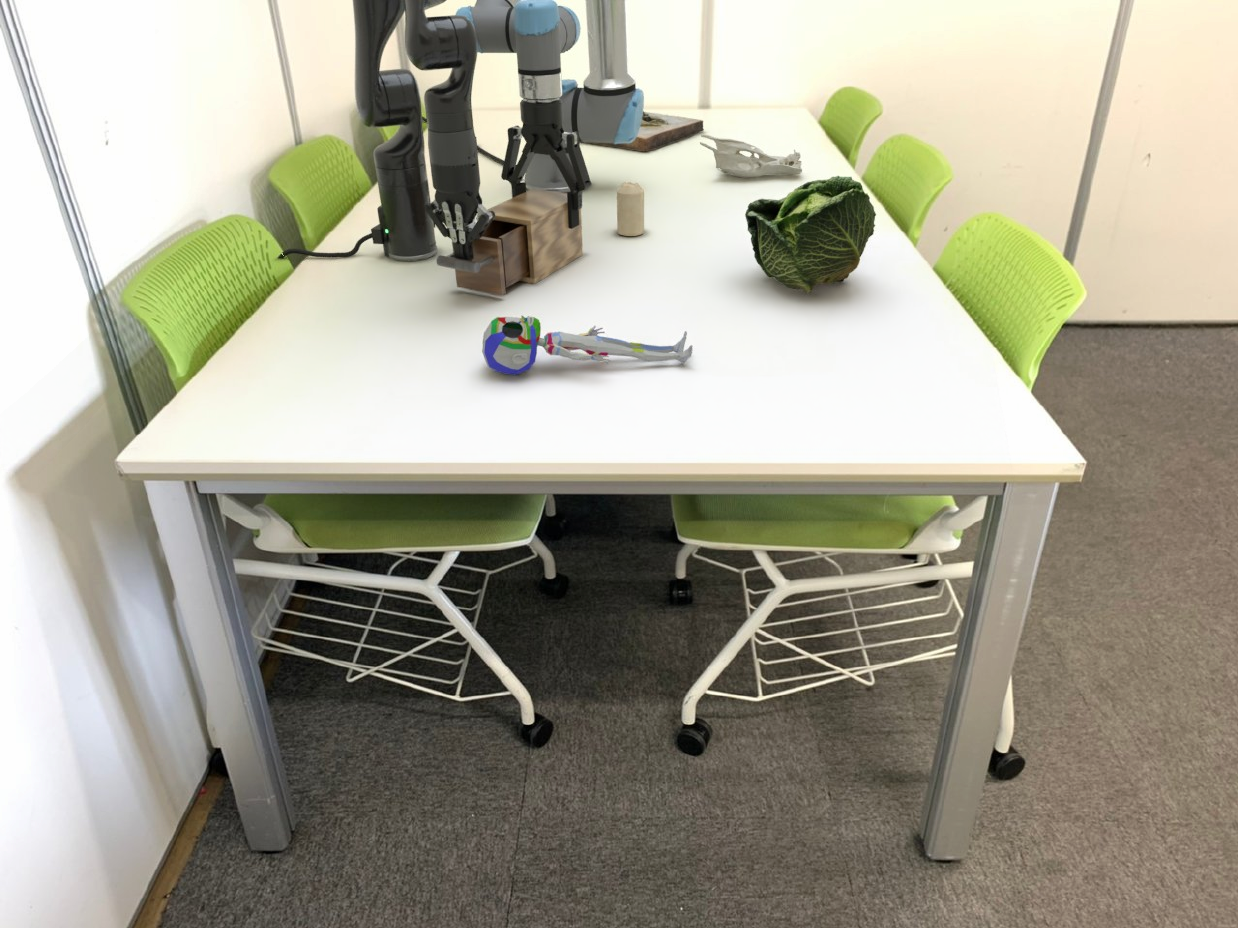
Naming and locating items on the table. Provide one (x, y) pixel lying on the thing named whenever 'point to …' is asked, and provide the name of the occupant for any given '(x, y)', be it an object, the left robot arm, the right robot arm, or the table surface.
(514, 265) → the drawer
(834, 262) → the vegetable
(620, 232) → the candle
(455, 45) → the left robot arm
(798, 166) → the anatomical model
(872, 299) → the table surface
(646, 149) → the plaque
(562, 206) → the cabinet
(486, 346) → the toy
